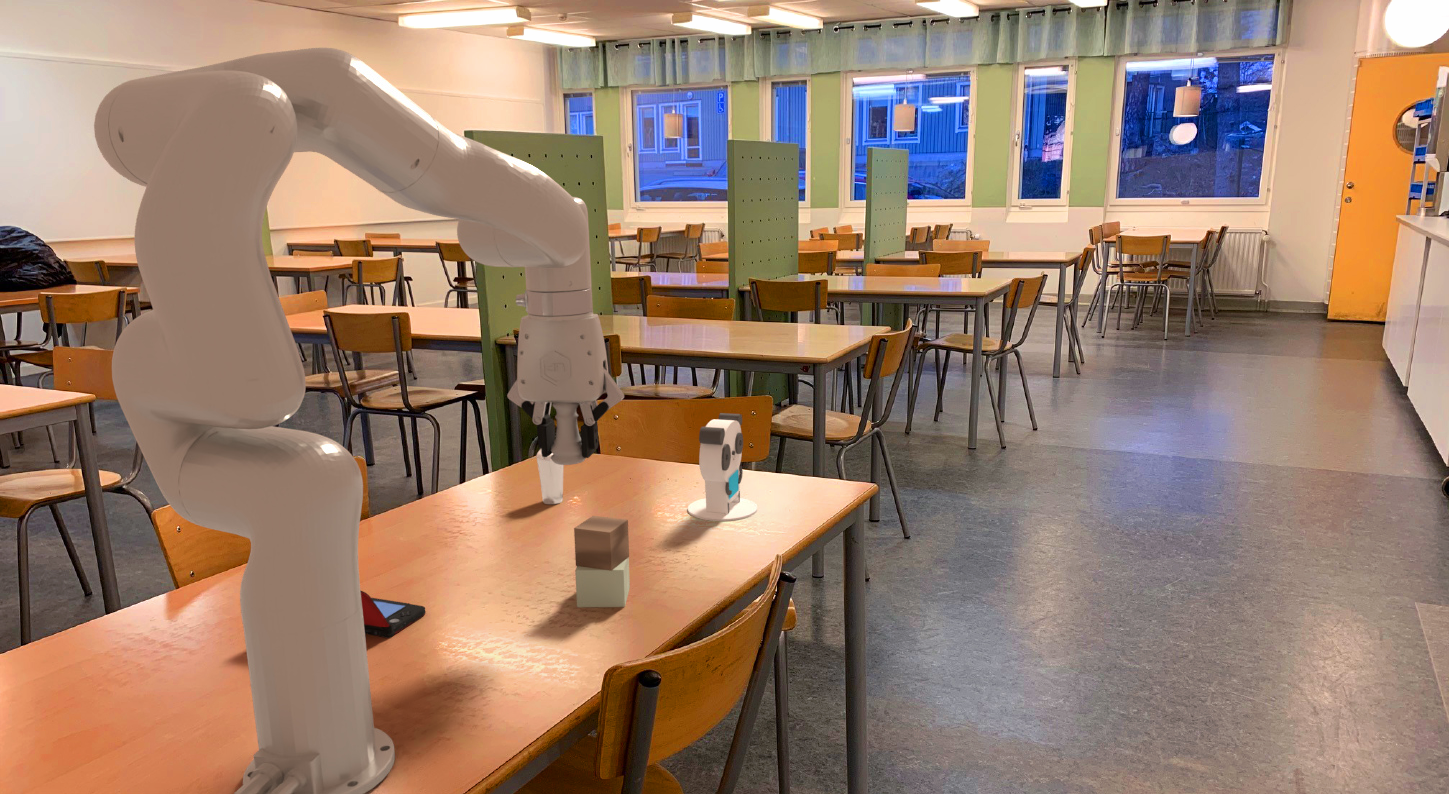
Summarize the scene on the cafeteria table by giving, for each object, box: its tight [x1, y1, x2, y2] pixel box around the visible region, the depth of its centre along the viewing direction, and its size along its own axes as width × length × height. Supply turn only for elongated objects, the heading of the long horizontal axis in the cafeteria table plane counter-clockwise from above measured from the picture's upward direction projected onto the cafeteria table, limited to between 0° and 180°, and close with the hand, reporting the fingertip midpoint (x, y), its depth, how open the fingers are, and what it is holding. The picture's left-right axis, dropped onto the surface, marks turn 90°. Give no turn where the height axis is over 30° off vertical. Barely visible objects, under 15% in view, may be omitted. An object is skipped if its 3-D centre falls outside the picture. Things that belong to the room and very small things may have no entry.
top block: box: [573, 515, 630, 571], centre depth 123 cm, size 5×5×5 cm
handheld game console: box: [360, 589, 426, 639], centre depth 117 cm, size 12×11×7 cm
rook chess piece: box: [551, 402, 587, 466], centre depth 117 cm, size 4×4×8 cm
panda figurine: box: [687, 412, 759, 522], centre depth 156 cm, size 12×11×15 cm
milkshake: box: [536, 448, 565, 505], centre depth 162 cm, size 4×5×10 cm
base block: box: [574, 556, 631, 608], centre depth 124 cm, size 6×6×5 cm
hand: (568, 452), depth 118 cm, fingers closed on rook chess piece, 4 cm apart
